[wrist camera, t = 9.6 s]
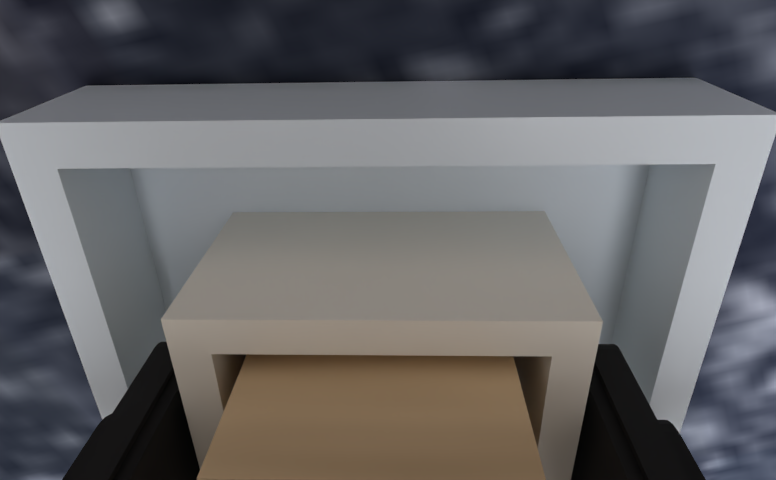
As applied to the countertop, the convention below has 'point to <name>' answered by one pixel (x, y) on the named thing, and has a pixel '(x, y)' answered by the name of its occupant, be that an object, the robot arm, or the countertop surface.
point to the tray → (396, 192)
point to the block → (374, 420)
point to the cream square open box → (390, 306)
